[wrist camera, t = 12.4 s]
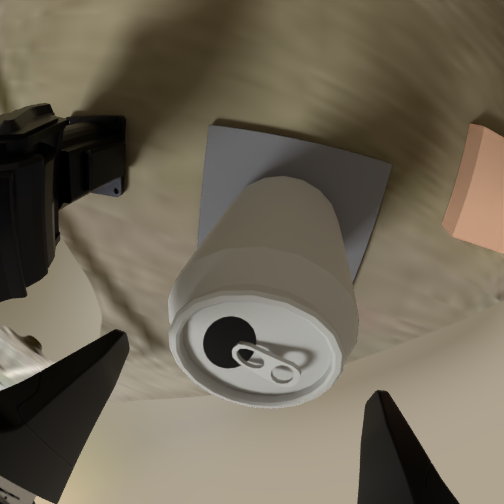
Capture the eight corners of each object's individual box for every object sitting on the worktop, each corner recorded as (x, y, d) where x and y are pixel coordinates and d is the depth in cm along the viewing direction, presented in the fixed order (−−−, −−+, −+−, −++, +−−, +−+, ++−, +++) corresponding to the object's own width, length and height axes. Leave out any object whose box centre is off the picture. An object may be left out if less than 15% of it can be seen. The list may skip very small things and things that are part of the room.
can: (247, 156, 18) (161, 235, 7) (355, 198, 18) (410, 327, 7) (217, 251, 21) (145, 380, 11) (311, 286, 21) (303, 432, 11)
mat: (197, 274, 24) (195, 278, 23) (211, 124, 18) (208, 125, 17) (340, 306, 23) (340, 310, 22) (389, 163, 17) (392, 165, 16)
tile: (452, 236, 16) (523, 261, 15) (484, 126, 12) (553, 173, 11) (439, 222, 18) (509, 247, 17) (467, 122, 14) (537, 165, 13)
